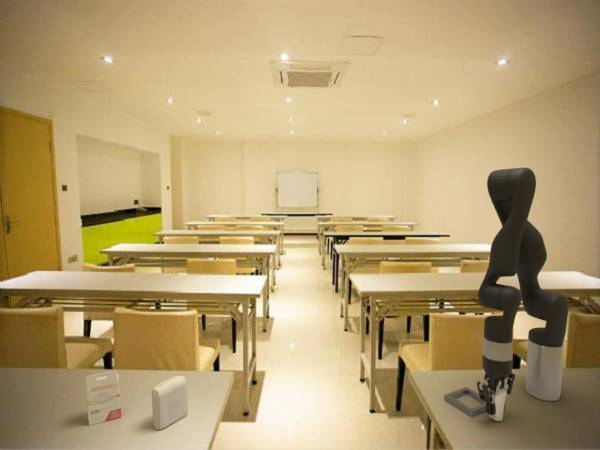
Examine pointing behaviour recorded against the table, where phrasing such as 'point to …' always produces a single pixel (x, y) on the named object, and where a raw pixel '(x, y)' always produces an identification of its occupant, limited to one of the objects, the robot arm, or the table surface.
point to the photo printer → (169, 402)
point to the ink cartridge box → (103, 397)
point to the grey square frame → (470, 411)
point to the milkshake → (499, 404)
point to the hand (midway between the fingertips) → (495, 411)
